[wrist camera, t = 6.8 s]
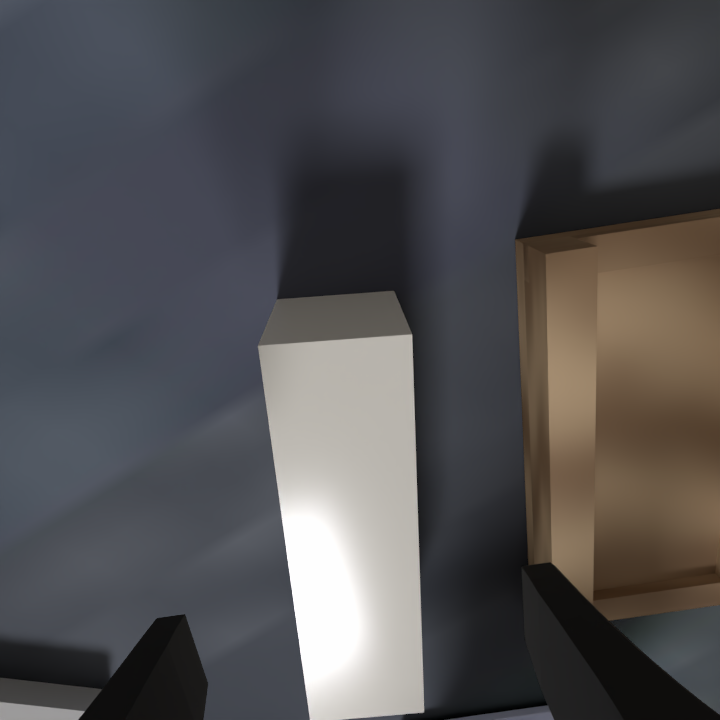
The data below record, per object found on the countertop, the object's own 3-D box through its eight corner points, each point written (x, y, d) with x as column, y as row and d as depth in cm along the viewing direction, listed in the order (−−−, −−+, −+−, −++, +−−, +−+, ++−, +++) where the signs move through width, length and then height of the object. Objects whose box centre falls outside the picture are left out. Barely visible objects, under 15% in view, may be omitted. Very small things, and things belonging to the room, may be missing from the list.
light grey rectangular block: (407, 602, 24) (424, 712, 19) (315, 610, 24) (310, 722, 19) (393, 289, 19) (412, 334, 14) (277, 297, 19) (258, 345, 14)
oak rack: (735, 576, 24) (784, 629, 21) (530, 606, 24) (553, 662, 21) (784, 199, 18) (861, 206, 15) (515, 239, 18) (545, 253, 16)
